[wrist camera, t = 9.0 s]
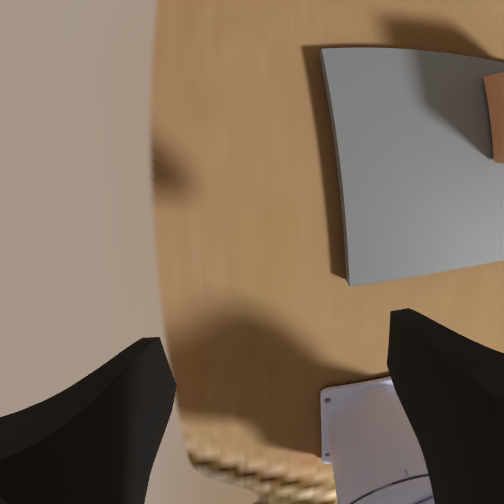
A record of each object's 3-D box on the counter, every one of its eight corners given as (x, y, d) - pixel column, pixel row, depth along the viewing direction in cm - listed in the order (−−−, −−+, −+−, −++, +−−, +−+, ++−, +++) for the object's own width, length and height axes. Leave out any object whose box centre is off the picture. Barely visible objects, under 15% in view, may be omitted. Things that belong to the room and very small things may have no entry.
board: (543, 245, 17) (551, 249, 16) (346, 279, 19) (349, 286, 18) (535, 74, 13) (543, 72, 12) (318, 54, 15) (321, 48, 14)
